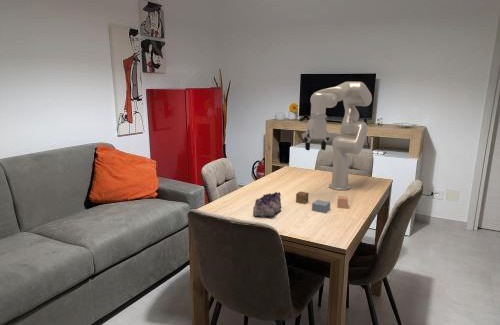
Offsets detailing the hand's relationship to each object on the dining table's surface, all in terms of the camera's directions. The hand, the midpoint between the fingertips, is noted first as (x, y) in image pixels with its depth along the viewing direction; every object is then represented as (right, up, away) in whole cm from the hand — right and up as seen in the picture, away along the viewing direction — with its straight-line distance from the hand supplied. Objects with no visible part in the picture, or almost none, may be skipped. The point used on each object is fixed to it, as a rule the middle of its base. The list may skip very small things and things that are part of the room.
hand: (315, 149), depth 187 cm
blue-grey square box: (+1, -31, -8) cm, 32 cm away
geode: (-25, -31, -12) cm, 42 cm away
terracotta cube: (+13, -30, -3) cm, 33 cm away
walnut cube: (-7, -28, +3) cm, 29 cm away
